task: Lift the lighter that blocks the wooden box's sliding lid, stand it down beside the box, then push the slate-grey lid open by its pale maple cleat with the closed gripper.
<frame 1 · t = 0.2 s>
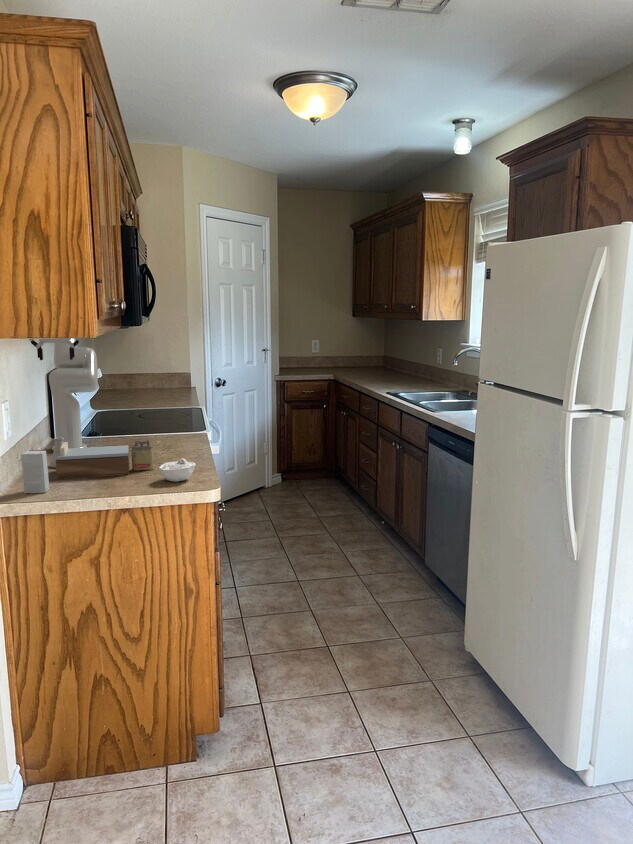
hand: (56, 359, 215), 37 cm above the worktop, tool pointing down, fingers open, 9 cm apart
lid: (93, 448, 206), point 8 cm above the worktop, slide at 0.0 cm
skincare box: (37, 492, 184), on the worktop
wooden box: (94, 472, 207), on the worktop
cell model: (177, 480, 197), on the worktop
flask: (60, 466, 216), on the worktop
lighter: (143, 469, 211), on the worktop
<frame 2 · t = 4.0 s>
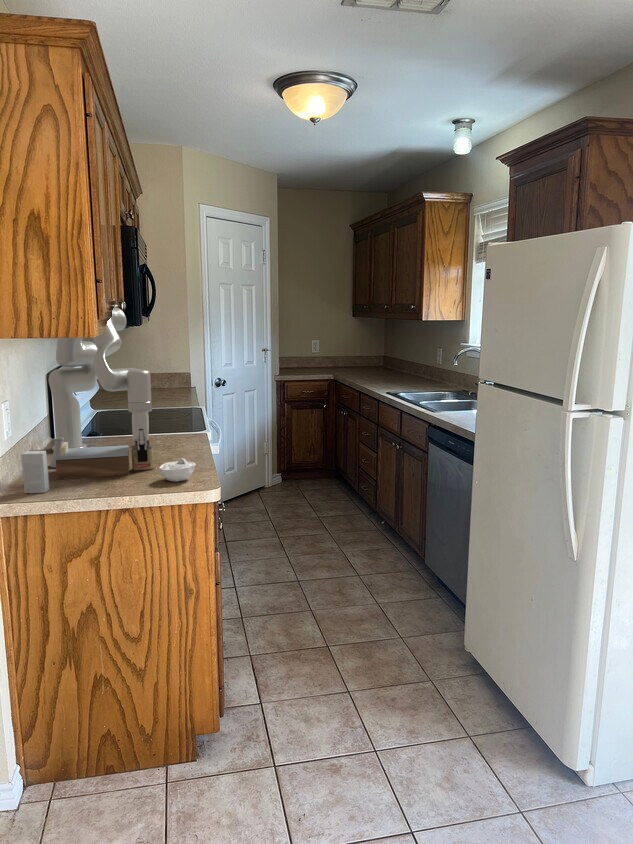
hand: (142, 459, 211), 3 cm above the worktop, tool pointing down, fingers closed on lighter, 3 cm apart
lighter: (143, 469, 211), on the worktop, touching gripper
everything else where it was.
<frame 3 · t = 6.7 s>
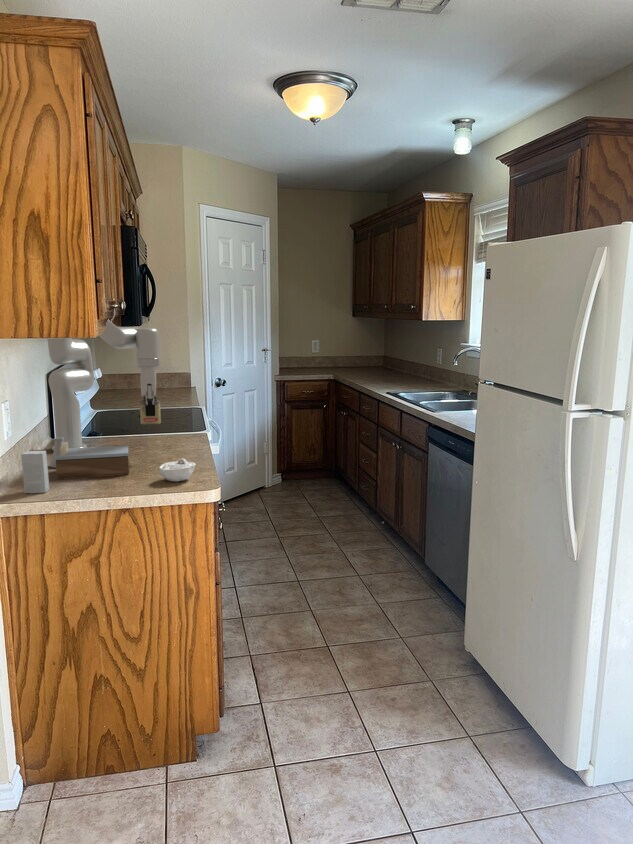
hand: (150, 414, 221), 17 cm above the worktop, tool pointing down, fingers closed on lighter, 3 cm apart
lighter: (150, 424, 221), point 13 cm above the worktop, touching gripper
everything else where it was.
when the fingers open (5 cm above the worktop, at t = 9.2 s): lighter drops 1 cm, on the worktop.
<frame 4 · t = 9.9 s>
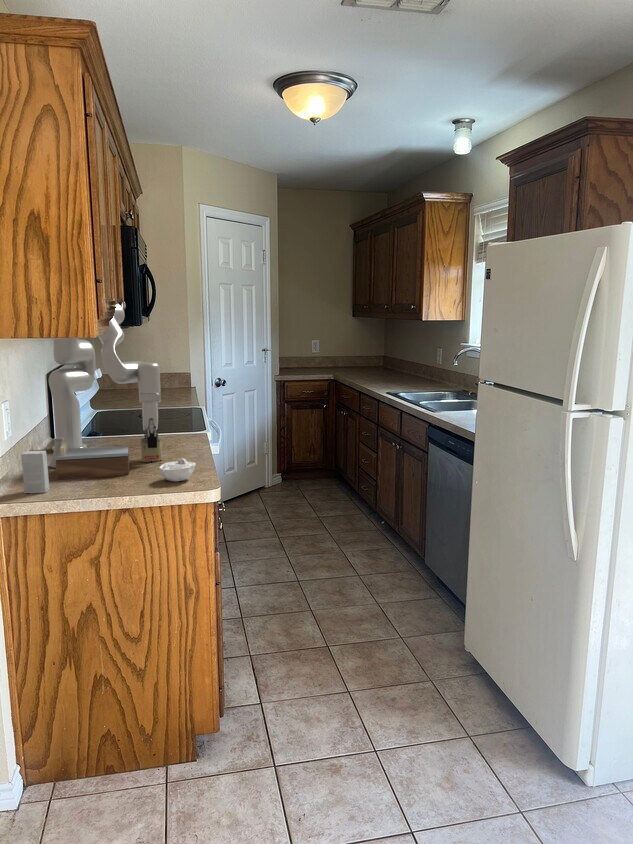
hand: (152, 445, 223), 6 cm above the worktop, tool pointing down, fingers open, 9 cm apart
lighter: (152, 461, 224), on the worktop
everything else where it was.
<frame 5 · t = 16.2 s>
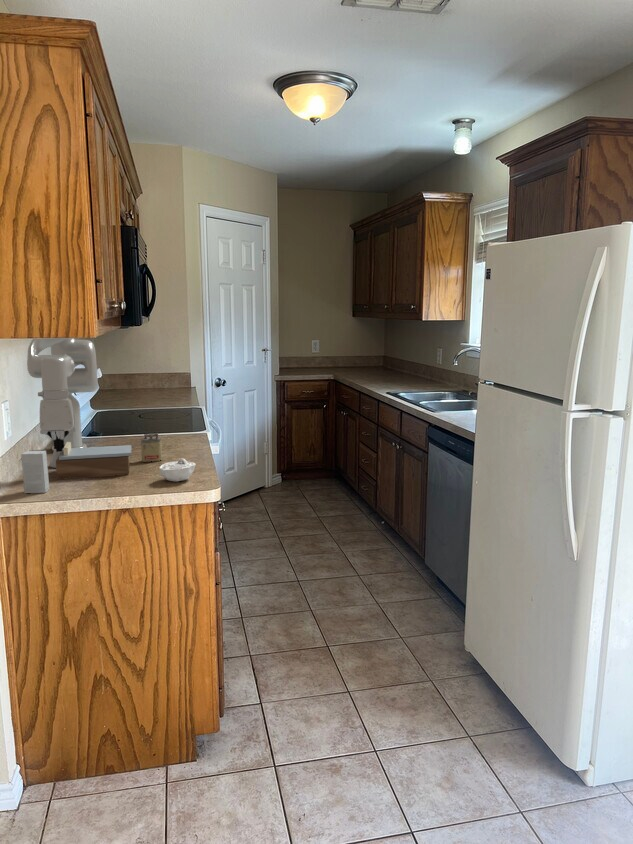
hand: (59, 450, 203), 8 cm above the worktop, tool pointing down, fingers closed
lid: (96, 448, 206), point 8 cm above the worktop, slide at 1.0 cm, touching gripper
everything else where it was.
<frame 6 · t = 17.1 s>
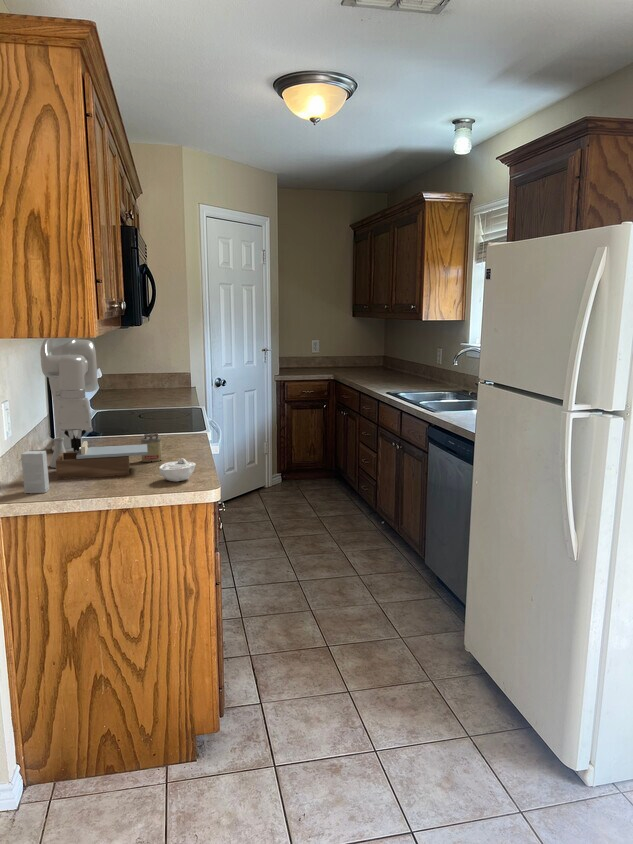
hand: (76, 449, 204), 8 cm above the worktop, tool pointing down, fingers closed
lid: (113, 447, 207), point 8 cm above the worktop, slide at 6.2 cm, touching gripper
everything else where it was.
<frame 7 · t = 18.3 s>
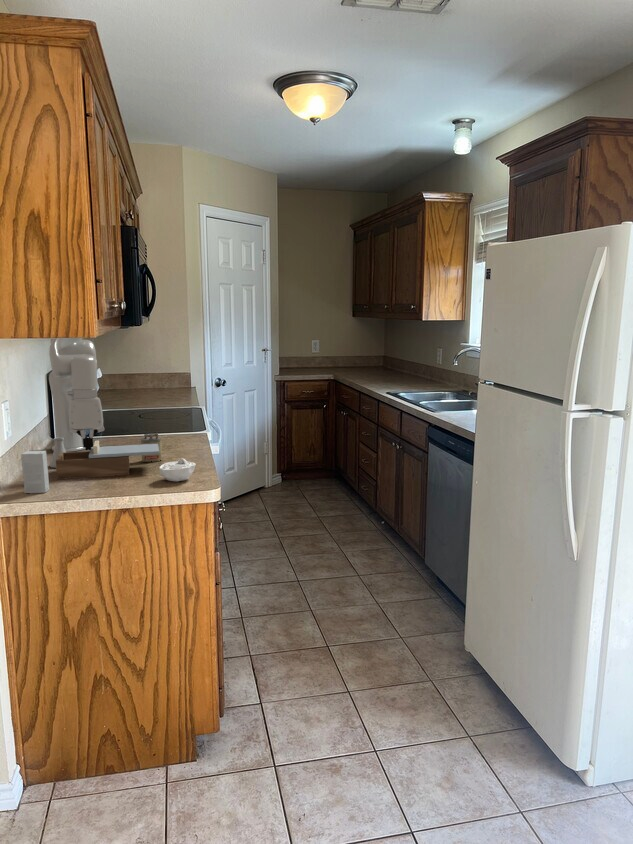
hand: (88, 449, 205), 8 cm above the worktop, tool pointing down, fingers closed
lid: (124, 446, 208), point 8 cm above the worktop, slide at 9.9 cm, touching gripper
everything else where it was.
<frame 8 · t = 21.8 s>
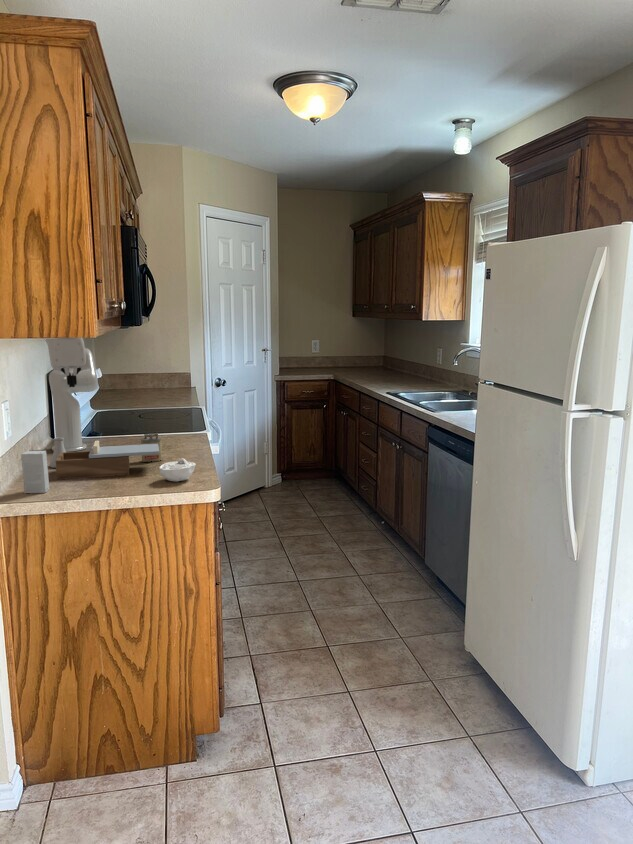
hand: (72, 386, 217), 27 cm above the worktop, tool pointing down, fingers closed
lid: (124, 446, 208), point 8 cm above the worktop, slide at 9.9 cm
everything else where it was.
at the end: lid slide at 9.9 cm; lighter inside the target area (0.4 cm from its centre), on the worktop; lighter tilted 0° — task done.
